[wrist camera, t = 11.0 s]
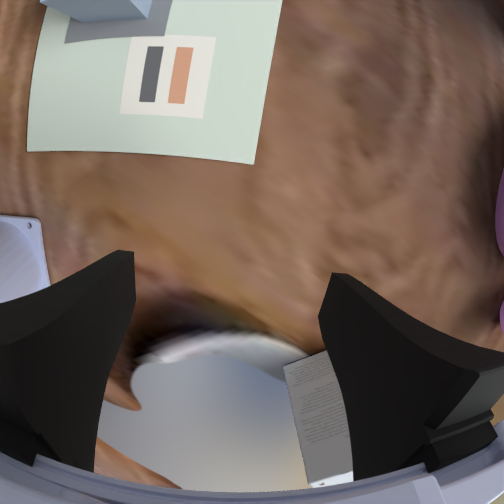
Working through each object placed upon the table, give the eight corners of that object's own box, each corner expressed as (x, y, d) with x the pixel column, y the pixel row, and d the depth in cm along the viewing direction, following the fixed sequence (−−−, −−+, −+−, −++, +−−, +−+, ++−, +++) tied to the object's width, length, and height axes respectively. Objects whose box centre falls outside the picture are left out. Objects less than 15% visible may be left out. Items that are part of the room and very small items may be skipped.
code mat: (29, 150, 16) (26, 151, 15) (68, -46, 9) (66, -48, 9) (253, 163, 18) (253, 164, 18) (291, -53, 11) (293, -55, 11)
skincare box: (294, 388, 28) (318, 496, 17) (281, 364, 26) (305, 485, 15) (352, 367, 27) (393, 470, 16) (345, 340, 25) (393, 455, 14)
